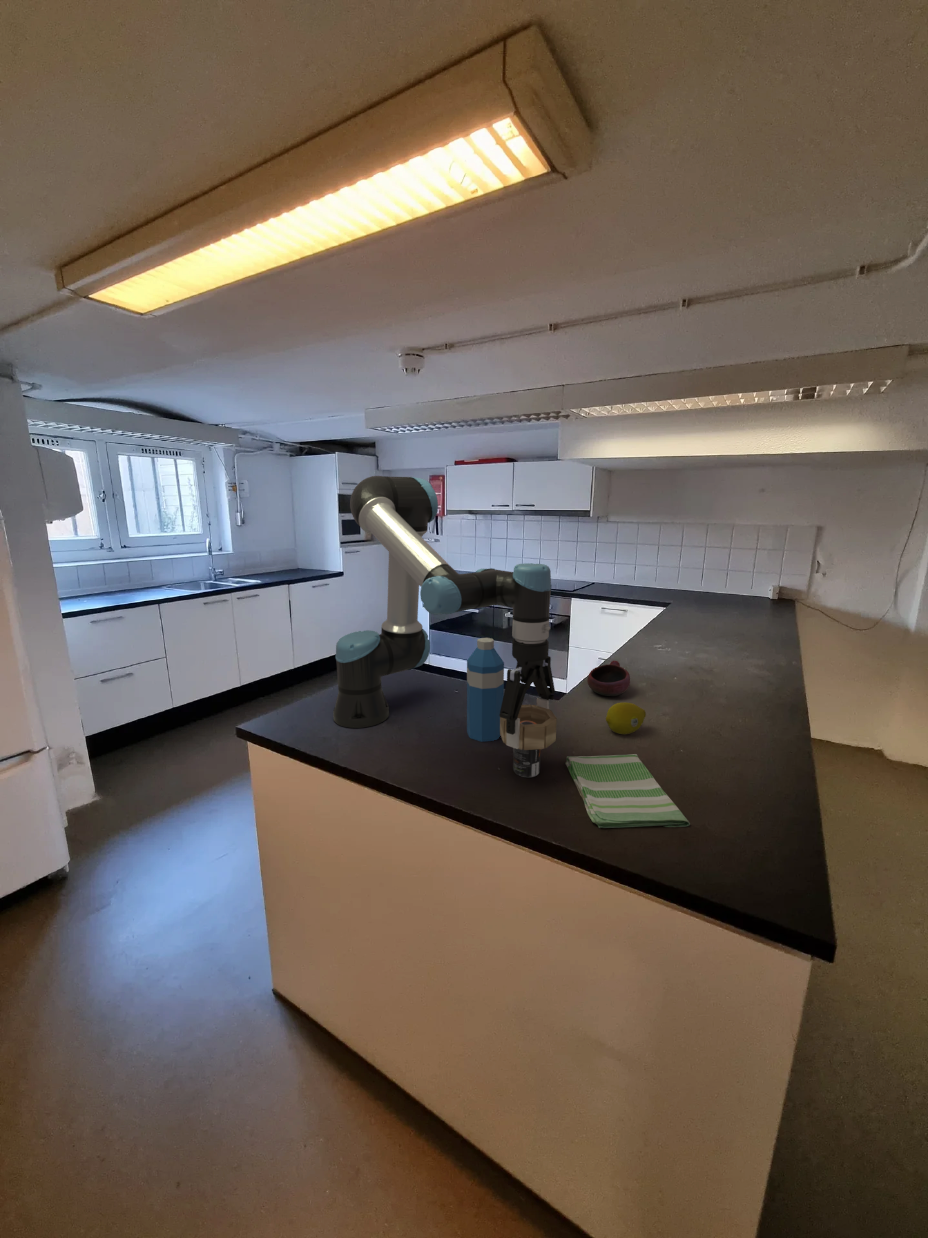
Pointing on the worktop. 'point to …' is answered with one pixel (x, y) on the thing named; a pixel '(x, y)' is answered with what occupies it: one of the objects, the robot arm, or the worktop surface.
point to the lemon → (625, 717)
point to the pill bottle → (526, 759)
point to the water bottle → (484, 691)
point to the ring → (533, 727)
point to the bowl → (609, 679)
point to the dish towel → (622, 792)
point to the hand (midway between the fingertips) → (527, 736)
